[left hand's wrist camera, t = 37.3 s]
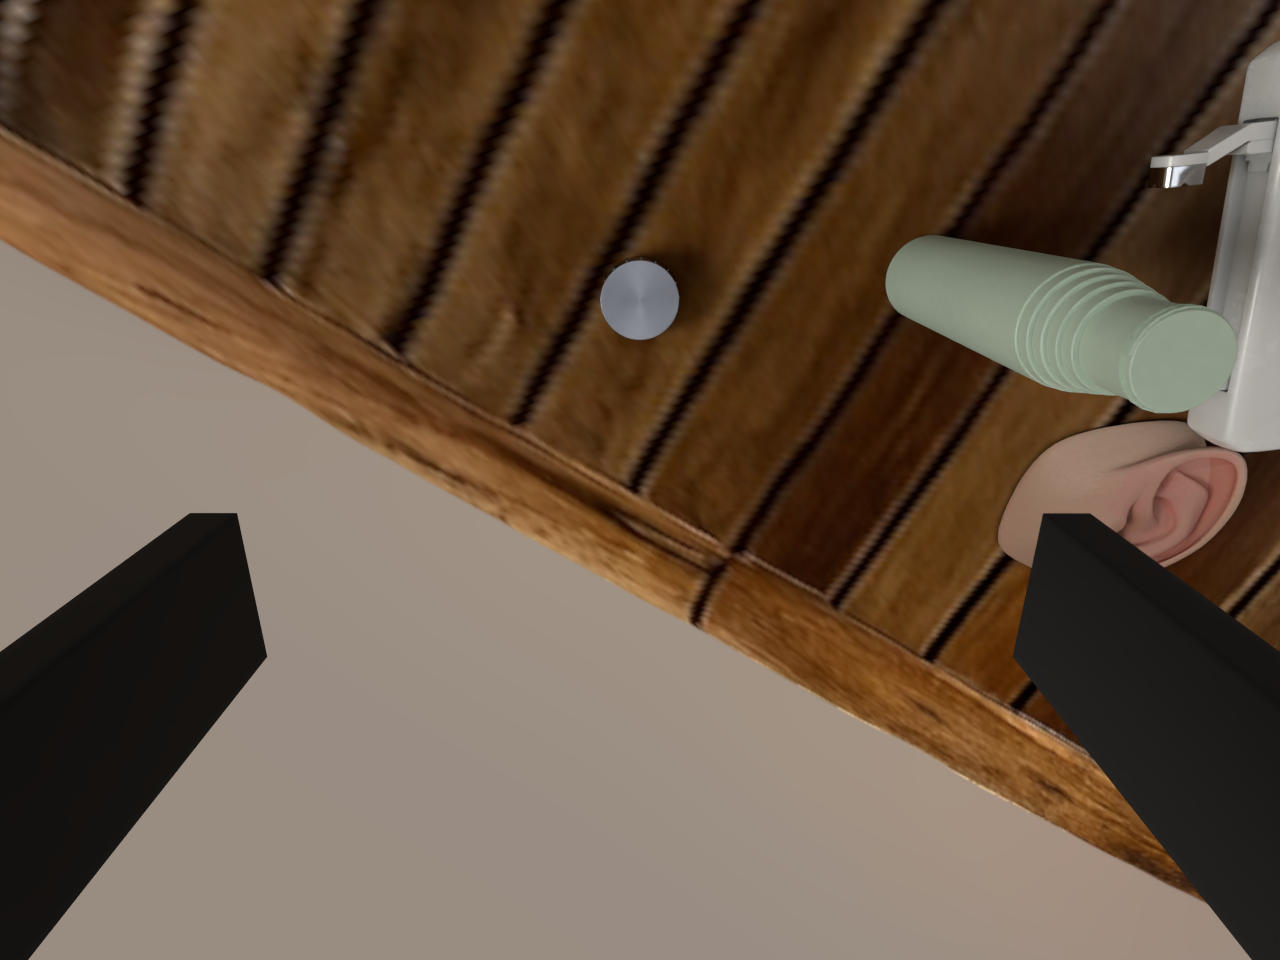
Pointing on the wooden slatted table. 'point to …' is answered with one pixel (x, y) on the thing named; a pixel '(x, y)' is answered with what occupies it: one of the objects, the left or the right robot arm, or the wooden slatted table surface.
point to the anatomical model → (1130, 489)
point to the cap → (639, 298)
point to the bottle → (1065, 321)
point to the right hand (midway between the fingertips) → (1142, 270)
